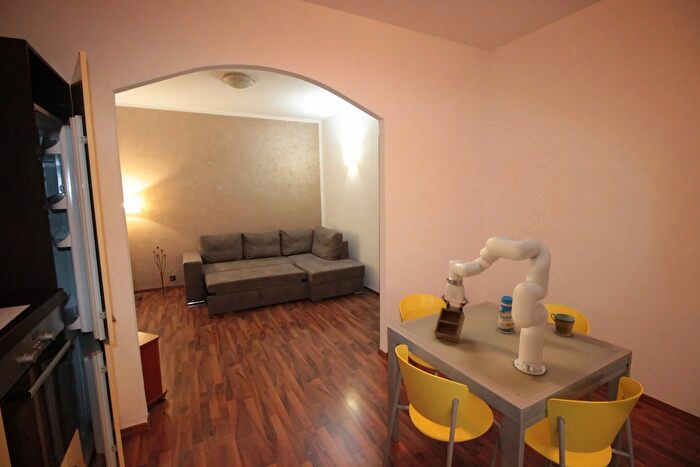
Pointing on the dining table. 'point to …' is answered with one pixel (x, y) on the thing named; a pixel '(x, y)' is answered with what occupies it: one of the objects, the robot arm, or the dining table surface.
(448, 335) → the brown open box
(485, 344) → the dining table surface
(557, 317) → the ceramic cup
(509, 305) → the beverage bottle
